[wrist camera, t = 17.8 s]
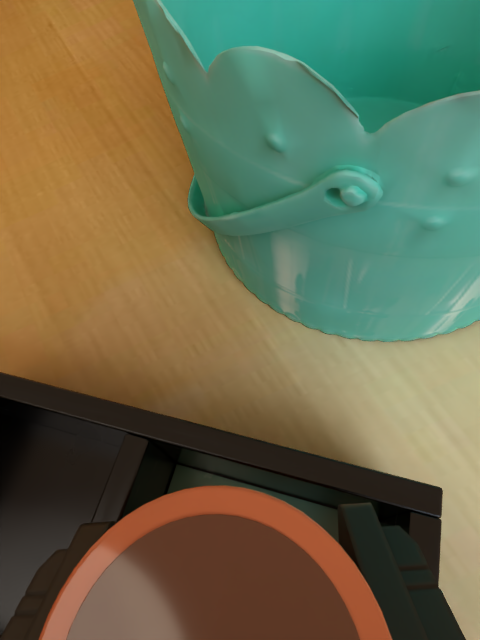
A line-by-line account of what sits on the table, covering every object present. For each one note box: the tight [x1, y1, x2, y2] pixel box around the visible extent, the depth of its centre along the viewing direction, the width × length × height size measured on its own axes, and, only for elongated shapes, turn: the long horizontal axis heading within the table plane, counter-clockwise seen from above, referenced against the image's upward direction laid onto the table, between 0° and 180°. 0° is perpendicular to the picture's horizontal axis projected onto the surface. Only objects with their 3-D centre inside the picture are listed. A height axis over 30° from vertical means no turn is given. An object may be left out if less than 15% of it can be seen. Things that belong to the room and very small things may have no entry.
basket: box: [133, 0, 480, 342], centre depth 17 cm, size 19×18×13 cm
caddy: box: [0, 372, 443, 637], centre depth 13 cm, size 9×17×5 cm, turn 75°
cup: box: [39, 485, 393, 640], centre depth 10 cm, size 5×5×9 cm
